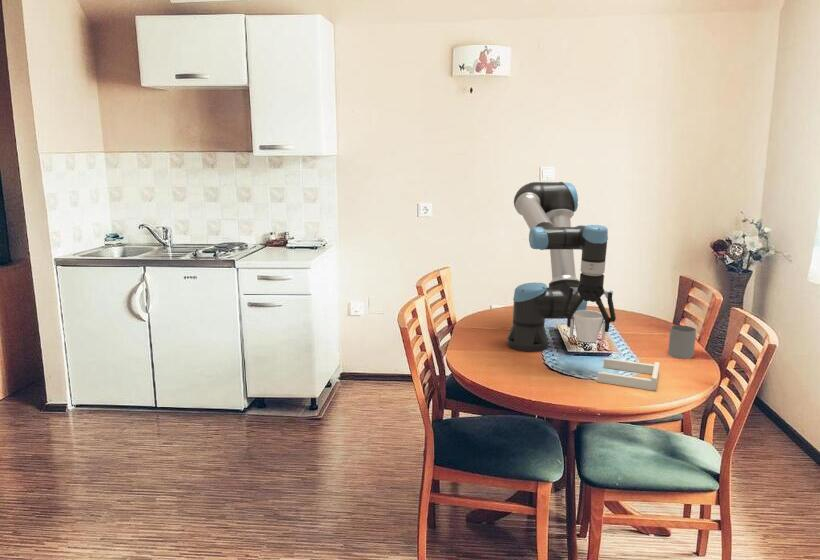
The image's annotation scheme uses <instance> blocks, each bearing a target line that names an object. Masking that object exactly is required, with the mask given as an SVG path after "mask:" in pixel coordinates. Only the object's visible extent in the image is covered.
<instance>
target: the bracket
mask: <svg viewBox="0 0 820 560" xmlns="http://www.w3.org/2000/svg"><path fill="white" fill-rule="evenodd" d="M603 358H604V359H603V366H602V367H603V369H604V368H605V369H610V370H612V369H613V370H618V371H625V372H631V373H638V374H639V373H640V374H646V375H651V378H646V377H640V376H639V377H638V376H631V375H624V374H618V373H611V372H604V371H598V373H597V383H603V384H610V385H616V386H622V387H628V388H629V387H630V388H636V389H643V390H648V391H657V385H658V378H659V374H660V362H658V361H654V364H653V363H646V362H638V361H631V360H623V359H618V358H617V359H615V358H610V357H609V358H608V357H603Z"/></svg>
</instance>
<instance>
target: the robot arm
mask: <svg viewBox="0 0 820 560" xmlns="http://www.w3.org/2000/svg"><path fill="white" fill-rule="evenodd" d="M578 202H579V196H578V191H577V188H576V187H575V185H574V184H572V183H571V182H563V181H558V182H557V181H556V182H555V181H553V182H552V181H551V182H550V181H549V182H546V181H545V182H544V181H543V182H542V181H540V182H539V181H533V182H529V183H527V184H524V185H522V186H521V187H520V188H519V189H518V190H517V192H516V193H515V195H514V198H513V207H514V208H515V210H516V212H517V214H518V215H520V216H522V218H523V220H524V221H525V222H526V226H528V228H529V233H528V242H529V247H530V248H531V249H532V250H541V251H544V250H546V251H547V250H549V254H550V265H551V278H552V280H550V282H549V283H548V286H547V284H546V283H543V282H527V283H522V284H520V285H517V286H516V288H514V293H513V299H512V300H513V307H512V308H513V309H512V310H513V311H512V325H511V328H510V330H509V334H508V335H507V338H506V339H507V341H506V344H507V346H508V347H509V348H511V349H514V350H516V351H520V352H521V351H522V352H541V351H545V350H547V349H548V347H549V339H548V335H547V332H546V328H545V320H546V319H549V320H550V319H551V320H553V319H555V320H556V319H557V320H558V319H559V320H560V319H563V320H564V319H566V320H567V321H566V326H567V328H569V337H568V338H571V339H572V338H573V336H574V327H575V321H574V316H573V314H574V312H575V311H578V310H587V305H588V302H592V303H595V304H596V305H597V307H598V310H599V311H600V312H601V314H602V316H603V318H604V321H603V323H602V326H601V328H602V329H601V331H602V332H601V338H600V339H601V343H604V342H605V340H606V339H605V338H606V333H609V331H610V323H615V321H616V320H617V317H616V311H615V308H614V307H615V306H614V301H613V296H614V295H613V294H614V291H612V290H609V291H608V290H605V289H604V281H605V275H604V274H605V272H606V271H605V269H606V258H607V257H606V256H607V246H608V240H609V236H608V235H609V234H608V233H609V232H608V231H609V230H608V228H607V226H604V225H599V224H588V225H582V224H580V225H579V224H578V225H576V226H572V224H571V223H572V222H571V219H572V217H573V216H574V213H575V212H577V210H578V207H579V203H578ZM574 250H581V261H580V274H579V279H578V278H577V276H576V266H575V257H574V256H575V255H574ZM603 295H604V296H605V298H606V300H607V306H608V310H609V314H608V312H607V309H606V308H605V305H604V303H603V300H602V298H601V297H602V296H603Z"/></svg>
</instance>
